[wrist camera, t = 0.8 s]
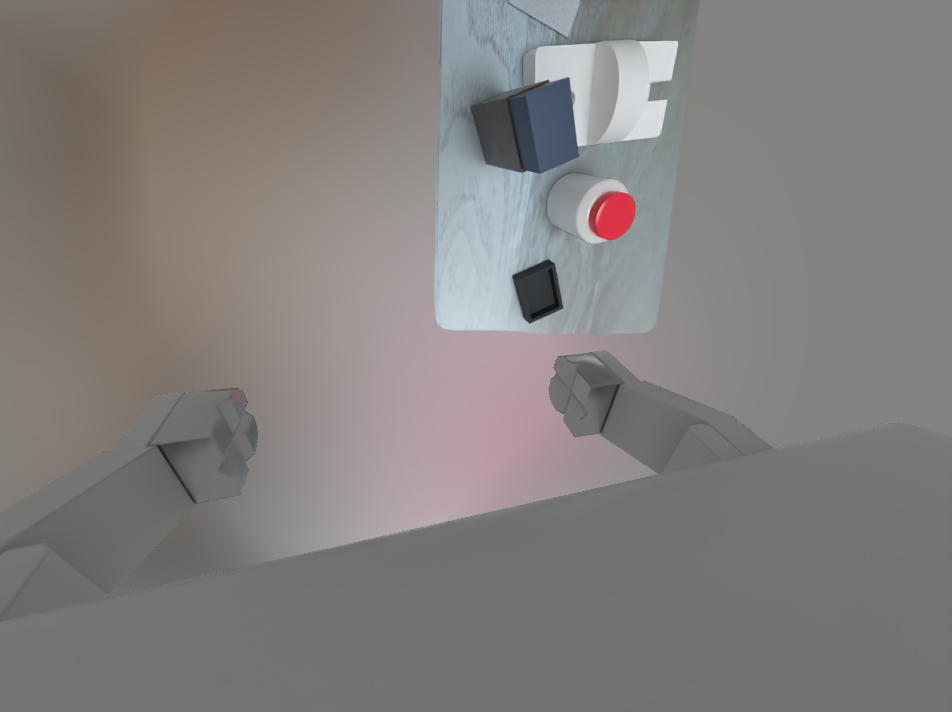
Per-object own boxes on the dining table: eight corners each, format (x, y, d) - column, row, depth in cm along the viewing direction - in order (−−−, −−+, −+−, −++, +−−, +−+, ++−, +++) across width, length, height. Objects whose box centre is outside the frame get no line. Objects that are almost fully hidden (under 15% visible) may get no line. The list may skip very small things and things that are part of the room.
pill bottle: (550, 171, 47) (595, 181, 38) (599, 173, 49) (652, 182, 40) (542, 230, 51) (581, 250, 42) (587, 229, 53) (633, 248, 44)
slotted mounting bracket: (642, 136, 48) (691, 136, 40) (523, 150, 44) (554, 153, 37) (657, 44, 42) (717, 26, 35) (523, 52, 39) (559, 34, 32)
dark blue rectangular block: (508, 99, 31) (525, 95, 27) (547, 82, 31) (569, 76, 28) (523, 170, 34) (540, 173, 31) (558, 154, 34) (579, 156, 31)
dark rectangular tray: (512, 275, 54) (517, 280, 52) (548, 259, 54) (554, 263, 52) (524, 318, 59) (529, 323, 57) (557, 303, 59) (563, 308, 57)
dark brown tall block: (470, 106, 40) (505, 97, 31) (503, 92, 40) (549, 79, 31) (486, 164, 44) (521, 172, 34) (516, 151, 44) (560, 156, 34)
